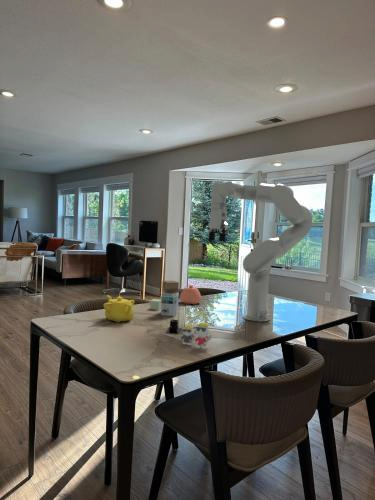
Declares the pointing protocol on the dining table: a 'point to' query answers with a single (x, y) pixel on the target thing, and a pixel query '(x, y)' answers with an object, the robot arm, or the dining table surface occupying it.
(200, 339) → the toy figures
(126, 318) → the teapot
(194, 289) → the sugar bowl
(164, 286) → the block
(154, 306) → the cube
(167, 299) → the light bulb box
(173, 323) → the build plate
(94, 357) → the dining table surface
